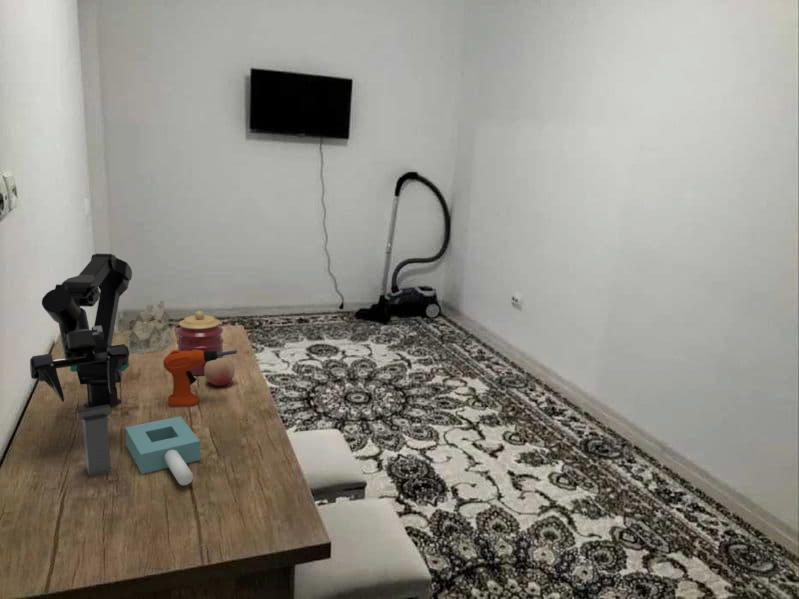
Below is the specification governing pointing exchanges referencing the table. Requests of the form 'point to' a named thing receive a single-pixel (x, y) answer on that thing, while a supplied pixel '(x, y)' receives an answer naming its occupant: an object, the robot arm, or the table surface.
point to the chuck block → (164, 447)
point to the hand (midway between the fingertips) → (87, 396)
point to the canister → (200, 336)
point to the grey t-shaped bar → (96, 438)
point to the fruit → (219, 371)
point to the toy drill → (187, 373)
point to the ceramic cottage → (150, 330)
